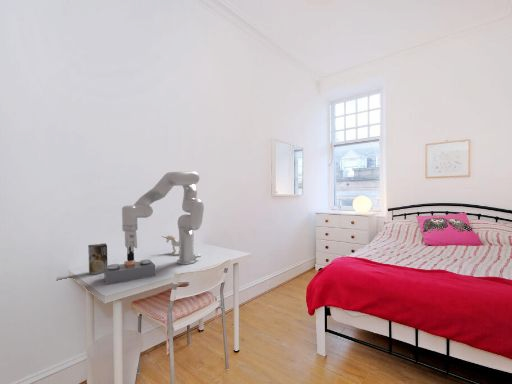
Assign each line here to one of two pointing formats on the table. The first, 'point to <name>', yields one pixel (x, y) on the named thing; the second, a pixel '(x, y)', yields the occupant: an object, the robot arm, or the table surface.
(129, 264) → the peach ball
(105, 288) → the table surface
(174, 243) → the unicorn figurine
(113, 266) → the steel plunger
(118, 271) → the box
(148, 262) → the steel plunger
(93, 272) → the coffee box
